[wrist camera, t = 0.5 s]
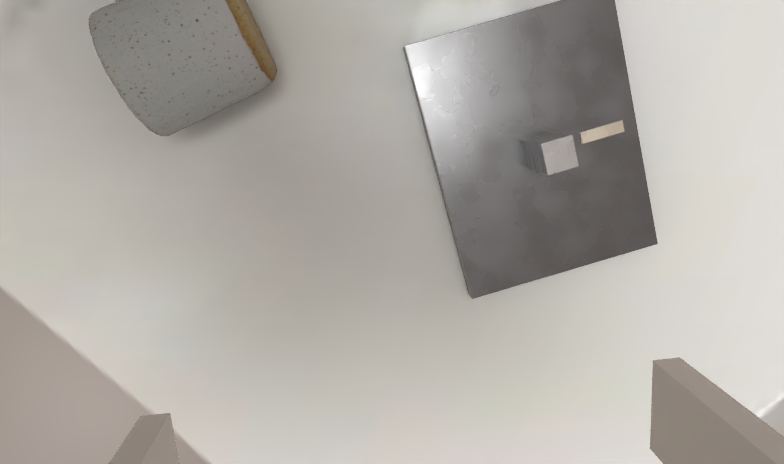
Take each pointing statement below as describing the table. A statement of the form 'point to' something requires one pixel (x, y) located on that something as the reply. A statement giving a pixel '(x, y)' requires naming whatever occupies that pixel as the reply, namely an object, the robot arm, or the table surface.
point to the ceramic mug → (181, 57)
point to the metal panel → (534, 142)
